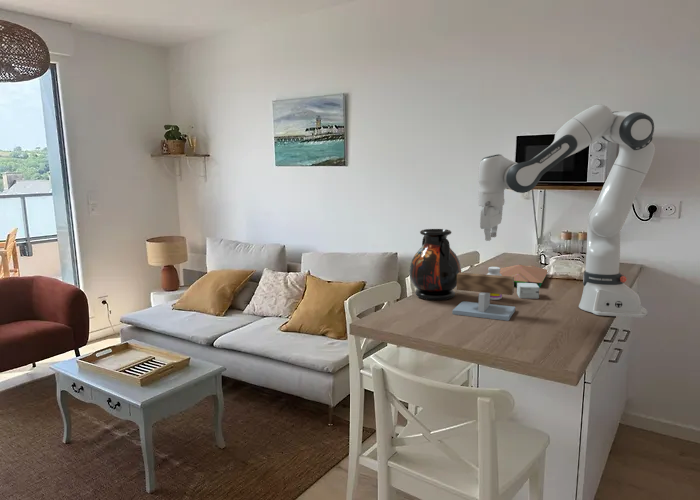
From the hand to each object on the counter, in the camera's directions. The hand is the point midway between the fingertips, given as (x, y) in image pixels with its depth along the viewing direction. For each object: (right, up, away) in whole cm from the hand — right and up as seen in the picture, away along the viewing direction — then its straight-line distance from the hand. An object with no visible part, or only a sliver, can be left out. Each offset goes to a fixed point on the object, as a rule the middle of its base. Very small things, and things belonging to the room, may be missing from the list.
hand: (491, 238), depth 178 cm
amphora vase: (-15, -24, +29) cm, 40 cm away
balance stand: (-2, -27, +4) cm, 28 cm away
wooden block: (-2, -19, +3) cm, 20 cm away
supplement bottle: (+8, -24, +24) cm, 35 cm away
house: (+29, -19, +55) cm, 65 cm away
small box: (+23, -24, +26) cm, 42 cm away
